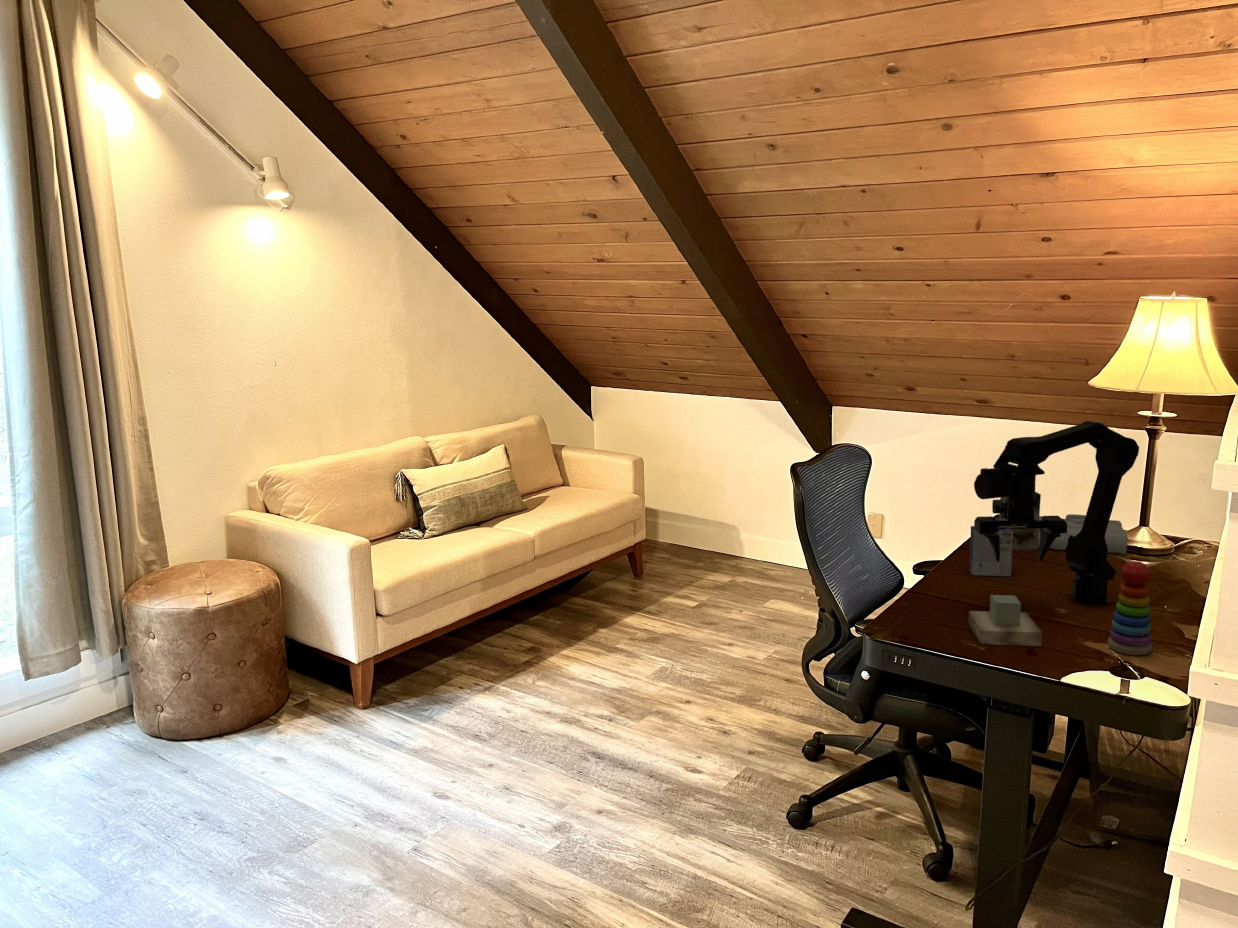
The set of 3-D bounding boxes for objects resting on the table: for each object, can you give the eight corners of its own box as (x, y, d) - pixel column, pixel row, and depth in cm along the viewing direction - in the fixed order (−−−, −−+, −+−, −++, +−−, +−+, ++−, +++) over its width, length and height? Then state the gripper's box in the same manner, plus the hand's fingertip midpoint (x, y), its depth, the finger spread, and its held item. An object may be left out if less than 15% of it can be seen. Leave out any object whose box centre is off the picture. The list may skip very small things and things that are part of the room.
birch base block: (1025, 625, 201) (1026, 612, 201) (1041, 646, 190) (1041, 632, 189) (968, 623, 203) (968, 610, 203) (980, 644, 192) (981, 630, 191)
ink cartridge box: (1007, 570, 240) (1010, 517, 237) (1012, 577, 234) (1015, 522, 232) (968, 569, 242) (970, 516, 239) (971, 575, 236) (974, 521, 234)
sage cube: (1013, 617, 198) (1014, 595, 197) (1019, 625, 193) (1021, 603, 192) (989, 616, 199) (990, 594, 198) (994, 625, 194) (996, 602, 193)
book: (1148, 559, 247) (1150, 531, 246) (1034, 551, 257) (1036, 524, 256) (1137, 541, 265) (1139, 516, 263) (1031, 535, 275) (1032, 510, 273)
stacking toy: (1099, 642, 190) (1105, 556, 187) (1135, 640, 191) (1142, 554, 188) (1122, 657, 183) (1129, 567, 179) (1160, 655, 183) (1168, 565, 180)
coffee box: (1005, 550, 257) (1008, 494, 254) (996, 544, 264) (999, 489, 261) (1038, 549, 257) (1041, 494, 254) (1028, 543, 263) (1031, 489, 260)
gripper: (1053, 486, 212) (1050, 550, 215) (969, 487, 215) (967, 551, 218) (1069, 497, 202) (1066, 565, 205) (981, 498, 204) (979, 565, 207)
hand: (1018, 561), depth 209 cm, fingers open, 9 cm apart
